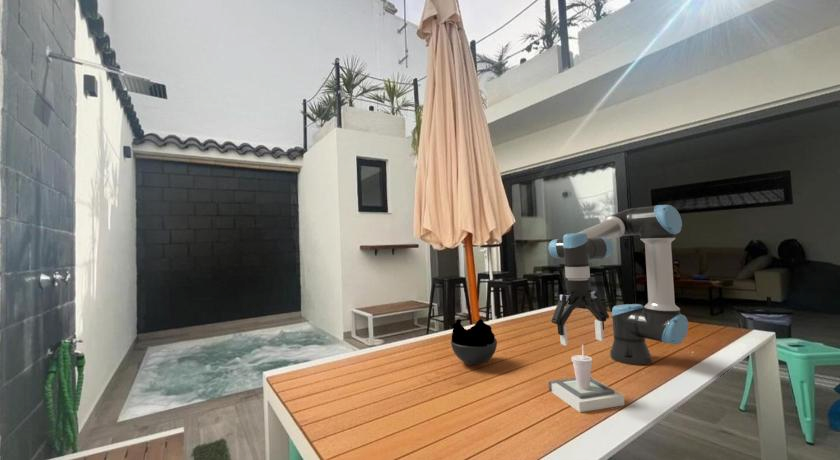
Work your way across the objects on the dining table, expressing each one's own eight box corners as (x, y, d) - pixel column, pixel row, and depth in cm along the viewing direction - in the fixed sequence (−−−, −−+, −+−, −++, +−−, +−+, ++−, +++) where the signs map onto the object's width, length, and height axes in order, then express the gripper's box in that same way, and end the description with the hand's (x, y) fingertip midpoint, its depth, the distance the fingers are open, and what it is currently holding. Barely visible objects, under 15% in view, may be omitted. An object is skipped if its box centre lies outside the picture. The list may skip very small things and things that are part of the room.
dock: (589, 384, 122) (588, 373, 122) (624, 405, 106) (623, 392, 106) (549, 390, 118) (548, 378, 118) (579, 412, 103) (579, 398, 103)
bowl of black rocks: (507, 364, 145) (505, 320, 146) (473, 376, 134) (471, 328, 134) (475, 353, 161) (473, 313, 162) (442, 362, 150) (440, 320, 151)
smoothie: (596, 392, 109) (594, 348, 109) (575, 391, 110) (572, 347, 111) (591, 383, 115) (588, 342, 115) (571, 383, 116) (568, 341, 117)
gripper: (601, 275, 120) (605, 335, 119) (538, 280, 115) (542, 343, 114) (617, 277, 113) (622, 341, 112) (551, 282, 108) (555, 350, 107)
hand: (582, 342), depth 113 cm, fingers open, 13 cm apart
